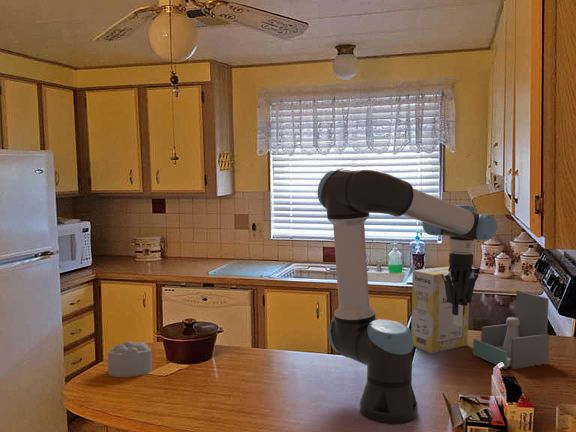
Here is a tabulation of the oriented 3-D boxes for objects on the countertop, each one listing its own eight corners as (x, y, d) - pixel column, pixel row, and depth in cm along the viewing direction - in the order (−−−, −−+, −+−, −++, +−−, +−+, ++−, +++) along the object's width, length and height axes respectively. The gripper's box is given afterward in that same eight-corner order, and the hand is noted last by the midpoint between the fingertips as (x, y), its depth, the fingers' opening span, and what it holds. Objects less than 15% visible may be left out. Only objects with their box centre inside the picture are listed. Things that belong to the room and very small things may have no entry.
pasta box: (431, 353, 197) (433, 274, 194) (411, 345, 206) (412, 270, 204) (467, 345, 206) (469, 270, 204) (446, 338, 215) (448, 266, 213)
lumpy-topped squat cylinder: (153, 373, 176) (153, 346, 175) (111, 380, 170) (110, 352, 169) (146, 363, 185) (145, 337, 184) (105, 369, 179) (105, 343, 178)
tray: (504, 368, 179) (505, 352, 179) (473, 354, 194) (473, 338, 193) (544, 363, 185) (544, 346, 185) (510, 349, 199) (511, 334, 199)
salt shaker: (503, 357, 188) (504, 319, 187) (501, 351, 193) (503, 315, 192) (521, 358, 186) (523, 320, 185) (520, 353, 192) (521, 316, 191)
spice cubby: (512, 369, 180) (515, 302, 179) (480, 354, 195) (482, 292, 193) (548, 363, 186) (550, 299, 184) (514, 350, 200) (516, 290, 198)
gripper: (451, 254, 173) (448, 328, 175) (485, 254, 178) (481, 326, 179) (437, 251, 180) (433, 323, 182) (470, 251, 185) (466, 320, 186)
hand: (457, 324), depth 181 cm, fingers closed
